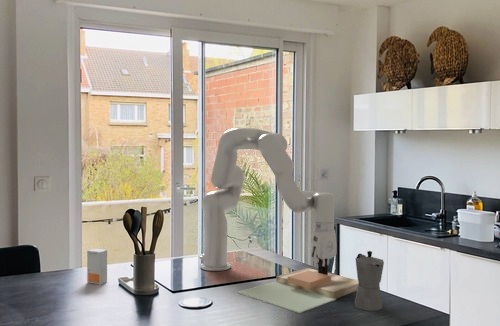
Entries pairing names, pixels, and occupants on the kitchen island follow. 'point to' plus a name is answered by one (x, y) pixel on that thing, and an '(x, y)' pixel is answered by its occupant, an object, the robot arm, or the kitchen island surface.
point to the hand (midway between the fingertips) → (322, 275)
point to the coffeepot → (368, 282)
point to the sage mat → (287, 296)
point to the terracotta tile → (309, 279)
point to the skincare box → (97, 266)
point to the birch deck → (331, 289)
